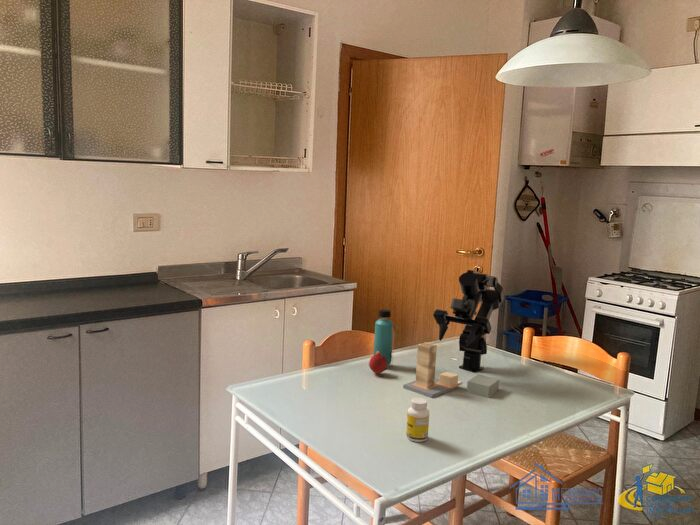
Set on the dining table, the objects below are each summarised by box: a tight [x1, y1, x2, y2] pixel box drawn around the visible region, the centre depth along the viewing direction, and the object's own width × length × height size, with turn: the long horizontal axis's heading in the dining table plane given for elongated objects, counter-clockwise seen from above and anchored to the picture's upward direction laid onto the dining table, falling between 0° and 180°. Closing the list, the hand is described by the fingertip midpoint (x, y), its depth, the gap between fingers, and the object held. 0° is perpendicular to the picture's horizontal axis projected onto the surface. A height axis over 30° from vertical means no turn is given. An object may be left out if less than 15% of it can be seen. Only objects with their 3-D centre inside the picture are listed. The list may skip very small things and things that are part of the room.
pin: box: [415, 341, 438, 388], centre depth 182 cm, size 4×4×13 cm
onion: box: [368, 351, 388, 376], centre depth 193 cm, size 6×6×8 cm
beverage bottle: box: [373, 309, 394, 366], centre depth 202 cm, size 6×7×20 cm
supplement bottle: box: [405, 397, 430, 443], centre depth 146 cm, size 5×5×10 cm
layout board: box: [402, 371, 462, 399], centre depth 184 cm, size 15×12×4 cm
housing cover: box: [466, 373, 500, 398], centre depth 183 cm, size 9×7×4 cm
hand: (452, 342), depth 187 cm, fingers open, 9 cm apart
